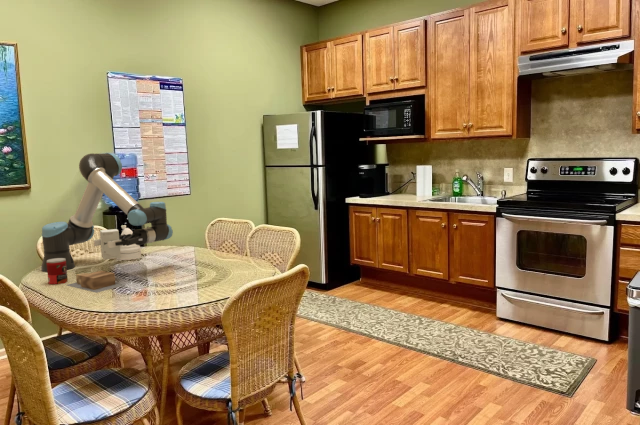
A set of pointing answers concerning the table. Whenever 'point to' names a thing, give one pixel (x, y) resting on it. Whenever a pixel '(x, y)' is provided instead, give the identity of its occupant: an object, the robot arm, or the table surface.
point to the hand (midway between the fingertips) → (101, 244)
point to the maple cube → (79, 278)
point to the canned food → (57, 271)
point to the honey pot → (129, 248)
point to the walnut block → (97, 280)
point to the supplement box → (107, 237)
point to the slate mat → (96, 289)
